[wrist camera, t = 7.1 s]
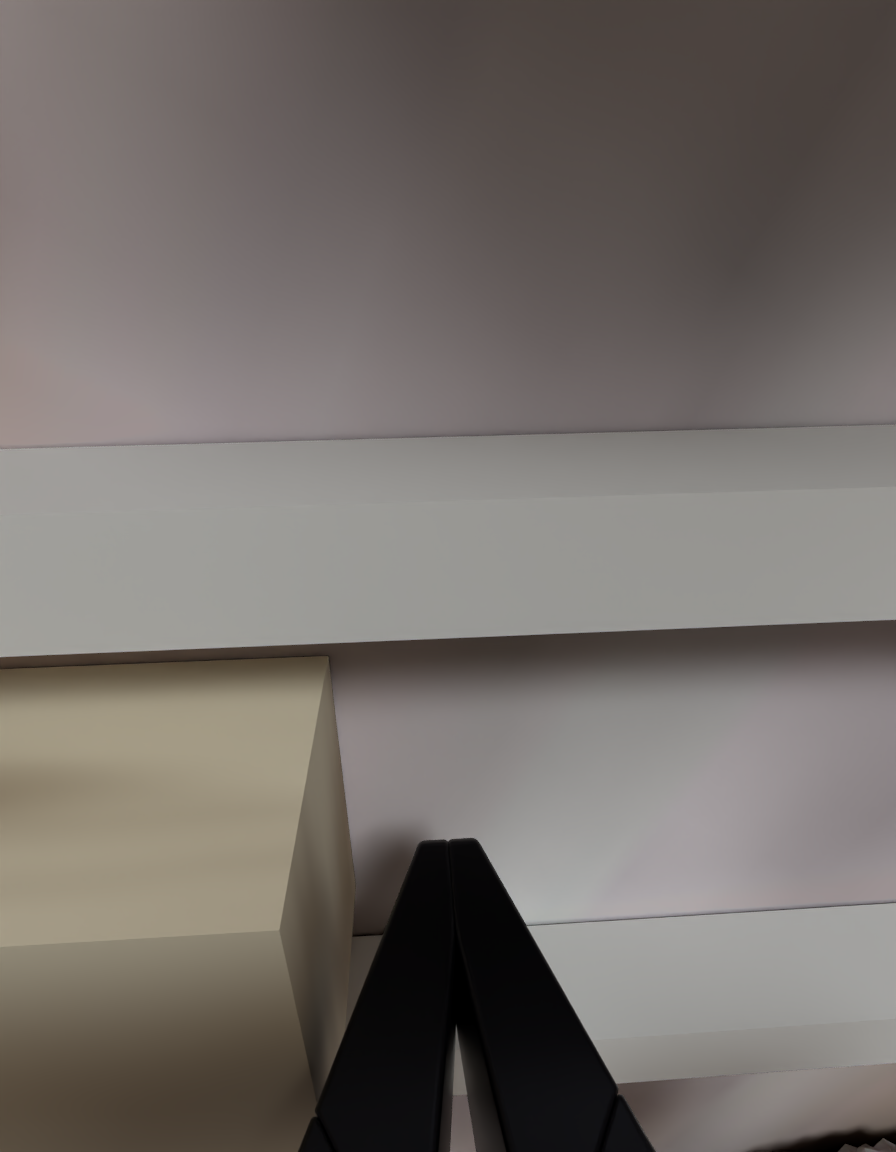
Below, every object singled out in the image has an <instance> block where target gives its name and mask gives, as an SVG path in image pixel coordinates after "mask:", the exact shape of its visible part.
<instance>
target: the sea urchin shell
mask: <svg viewBox="0 0 896 1152" xmlns="http://www.w3.org/2000/svg"><path fill="white" fill-rule="evenodd" d="M838 1152H896V1145H894V1144H893V1143H891V1142H889V1141H887V1140H885V1139H884V1138H883V1139H882V1140H880V1141H879V1142H878V1143H877V1144H876V1145H875V1146H874V1147H871V1146H869V1145H867V1144H864V1145H862V1146H860V1147H858V1148H857V1147H853V1146H850V1145H847V1144H845V1145H844V1146H843V1147H842V1148H841V1149H840V1150H839V1151H838Z"/></svg>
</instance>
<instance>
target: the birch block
mask: <svg viewBox="0 0 896 1152" xmlns="http://www.w3.org/2000/svg"><path fill="white" fill-rule="evenodd" d="M355 891H356V884H355V876H354V868H353V859H352V851H351V842H350V834H349V826H348V817H347V809H346V800H345V792H344V784H343V775H342V767H341V758H340V750H339V742H338V733H337V725H336V717H335V708H334V700H333V691H332V683H331V675H330V666H329V658H328V656H313V657H288V658H264V659H239V660H215V661H190V662H165V663H141V664H116V665H91V666H67V667H42V668H18V669H0V1152H298V1150H299V1148H300V1145H301V1142H302V1140H303V1137H304V1135H305V1132H306V1130H307V1127H308V1125H309V1122H310V1120H311V1118H312V1117H316V1115H315V1108H316V1105H317V1102H318V1100H319V1097H320V1095H321V1092H322V1090H323V1087H324V1084H325V1082H326V1079H327V1077H328V1074H329V1072H330V1069H331V1066H332V1064H333V1061H334V1059H335V1056H336V1054H337V1051H338V1049H339V1046H340V1043H341V1041H342V1038H343V1036H344V1033H345V1024H346V1011H347V997H348V984H349V971H350V957H351V944H352V931H353V917H354V904H355Z"/></svg>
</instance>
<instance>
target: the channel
mask: <svg viewBox="0 0 896 1152" xmlns="http://www.w3.org/2000/svg"><path fill="white" fill-rule="evenodd" d="M876 620H896V425H861V426H825V427H788V428H752V429H715V430H679V431H643V432H607V433H570V434H534V435H498V436H461V437H425V438H389V439H352V440H316V441H280V442H243V443H207V444H171V445H134V446H98V447H62V448H25V449H0V657H14V656H38V655H62V654H86V653H110V652H134V651H158V650H182V649H206V648H230V647H254V646H277V645H301V644H325V643H349V642H373V641H397V640H421V639H445V638H469V637H493V636H517V635H541V634H565V633H589V632H613V631H637V630H661V629H684V628H708V627H732V626H756V625H780V624H804V623H828V622H852V621H876ZM527 927H528V929H529V931H530V933H531V934H532V936H533V938H534V940H535V942H536V943H537V945H538V947H539V949H540V950H541V952H542V954H543V956H544V957H545V959H546V961H547V963H548V964H549V966H550V968H551V970H552V971H553V973H554V975H555V977H556V979H557V980H558V982H559V984H560V986H561V987H562V989H563V991H564V993H565V994H566V996H567V998H568V1000H569V1001H570V1003H571V1005H572V1007H573V1008H574V1010H575V1012H576V1014H577V1016H578V1017H579V1019H580V1021H581V1023H582V1024H583V1026H584V1028H585V1030H586V1031H587V1033H588V1035H589V1037H590V1038H591V1040H592V1042H593V1044H594V1046H595V1047H596V1049H597V1051H598V1053H599V1054H600V1056H601V1058H602V1060H603V1061H604V1063H605V1065H606V1067H607V1068H608V1070H609V1072H610V1074H611V1075H612V1077H613V1079H614V1081H615V1083H616V1084H619V1083H633V1082H646V1081H660V1080H673V1079H687V1078H700V1077H714V1076H727V1075H741V1074H754V1073H768V1072H781V1071H795V1070H808V1069H822V1068H835V1067H849V1066H862V1065H876V1064H889V1063H896V903H888V904H872V905H856V906H840V907H824V908H808V909H792V910H776V911H760V912H744V913H728V914H712V915H696V916H680V917H664V918H648V919H632V920H616V921H600V922H584V923H568V924H552V925H536V926H527ZM382 936H383V935H376V936H360V937H352V944H351V957H350V971H349V984H348V997H347V1011H346V1024H345V1031H346V1028H347V1025H348V1023H349V1020H350V1018H351V1015H352V1013H353V1010H354V1007H355V1005H356V1002H357V1000H358V997H359V995H360V992H361V989H362V987H363V984H364V982H365V979H366V977H367V974H368V971H369V969H370V966H371V964H372V961H373V959H374V956H375V954H376V951H377V948H378V946H379V943H380V941H381V938H382ZM457 1095H467V1091H466V1084H465V1078H464V1072H463V1066H462V1060H461V1053H460V1047H459V1041H458V1034H457V1027H456V1043H455V1062H454V1082H453V1096H457Z"/></svg>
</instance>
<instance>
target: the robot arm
mask: <svg viewBox="0 0 896 1152" xmlns="http://www.w3.org/2000/svg"><path fill="white" fill-rule="evenodd" d="M456 1027H457V1034H458V1041H459V1047H460V1053H461V1060H462V1066H463V1072H464V1078H465V1084H466V1091H467V1097H468V1103H469V1109H470V1115H471V1122H472V1128H473V1134H474V1140H475V1146H476V1152H656V1151H655V1150H654V1148H653V1146H652V1145H651V1143H650V1141H649V1140H648V1138H647V1136H646V1135H645V1133H644V1131H643V1129H642V1128H641V1126H640V1124H639V1122H638V1121H637V1119H636V1117H635V1115H634V1114H633V1112H632V1110H631V1108H630V1107H629V1105H628V1103H627V1101H626V1100H625V1098H624V1096H623V1095H621V1094H619V1095H617V1094H618V1086H617V1084H616V1083H615V1081H614V1079H613V1077H612V1075H611V1074H610V1072H609V1070H608V1068H607V1067H606V1065H605V1063H604V1061H603V1060H602V1058H601V1056H600V1054H599V1053H598V1051H597V1049H596V1047H595V1046H594V1044H593V1042H592V1040H591V1038H590V1037H589V1035H588V1033H587V1031H586V1030H585V1028H584V1026H583V1024H582V1023H581V1021H580V1019H579V1017H578V1016H577V1014H576V1012H575V1010H574V1008H573V1007H572V1005H571V1003H570V1001H569V1000H568V998H567V996H566V994H565V993H564V991H563V989H562V987H561V986H560V984H559V982H558V980H557V979H556V977H555V975H554V973H553V971H552V970H551V968H550V966H549V964H548V963H547V961H546V959H545V957H544V956H543V954H542V952H541V950H540V949H539V947H538V945H537V943H536V942H535V940H534V938H533V936H532V934H531V933H530V931H529V929H528V927H527V926H526V924H525V922H524V920H523V919H522V917H521V915H520V913H519V912H518V910H517V908H516V906H515V905H514V903H513V901H512V899H511V897H510V896H509V894H508V892H507V890H506V889H505V887H504V885H503V883H502V882H501V880H500V878H499V876H498V875H497V873H496V871H495V869H494V867H493V866H492V864H491V862H490V860H489V859H488V857H487V855H486V853H485V852H484V850H483V848H482V846H481V845H480V843H479V842H478V841H477V840H476V839H474V838H463V839H451V840H449V841H446V840H426V841H422V842H420V843H419V845H418V846H417V848H416V851H415V853H414V856H413V859H412V861H411V864H410V866H409V869H408V871H407V874H406V877H405V879H404V882H403V884H402V887H401V889H400V892H399V894H398V897H397V900H396V902H395V905H394V907H393V910H392V912H391V915H390V918H389V920H388V923H387V925H386V928H385V930H384V933H383V936H382V938H381V941H380V943H379V946H378V948H377V951H376V954H375V956H374V959H373V961H372V964H371V966H370V969H369V971H368V974H367V977H366V979H365V982H364V984H363V987H362V989H361V992H360V995H359V997H358V1000H357V1002H356V1005H355V1007H354V1010H353V1013H352V1015H351V1018H350V1020H349V1023H348V1025H347V1028H346V1031H345V1033H344V1036H343V1038H342V1041H341V1043H340V1046H339V1049H338V1051H337V1054H336V1056H335V1059H334V1061H333V1064H332V1066H331V1069H330V1072H329V1074H328V1077H327V1079H326V1082H325V1084H324V1087H323V1090H322V1092H321V1095H320V1097H319V1100H318V1102H317V1105H316V1108H315V1115H316V1117H312V1118H311V1120H310V1122H309V1125H308V1127H307V1130H306V1132H305V1135H304V1137H303V1140H302V1142H301V1145H300V1148H299V1150H298V1152H450V1140H451V1120H452V1101H453V1082H454V1062H455V1043H456Z"/></svg>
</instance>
